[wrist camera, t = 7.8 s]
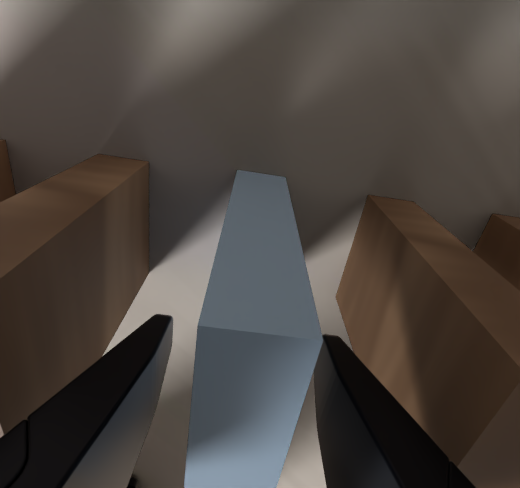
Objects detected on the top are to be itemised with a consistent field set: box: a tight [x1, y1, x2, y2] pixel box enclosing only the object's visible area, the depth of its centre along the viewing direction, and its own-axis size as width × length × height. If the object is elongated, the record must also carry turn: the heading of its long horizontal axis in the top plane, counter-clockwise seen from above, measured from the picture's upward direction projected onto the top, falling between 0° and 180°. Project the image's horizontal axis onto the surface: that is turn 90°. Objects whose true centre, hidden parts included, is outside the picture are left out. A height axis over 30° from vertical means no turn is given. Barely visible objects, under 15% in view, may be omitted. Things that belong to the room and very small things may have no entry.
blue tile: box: [184, 170, 323, 488], centre depth 10 cm, size 2×5×8 cm, turn 171°
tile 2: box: [336, 195, 520, 488], centre depth 10 cm, size 2×5×8 cm, turn 171°
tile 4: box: [0, 154, 149, 438], centre depth 9 cm, size 2×5×8 cm, turn 171°
